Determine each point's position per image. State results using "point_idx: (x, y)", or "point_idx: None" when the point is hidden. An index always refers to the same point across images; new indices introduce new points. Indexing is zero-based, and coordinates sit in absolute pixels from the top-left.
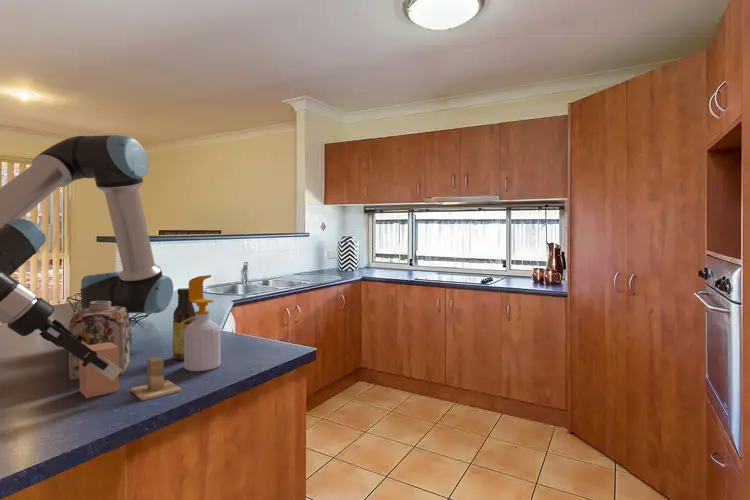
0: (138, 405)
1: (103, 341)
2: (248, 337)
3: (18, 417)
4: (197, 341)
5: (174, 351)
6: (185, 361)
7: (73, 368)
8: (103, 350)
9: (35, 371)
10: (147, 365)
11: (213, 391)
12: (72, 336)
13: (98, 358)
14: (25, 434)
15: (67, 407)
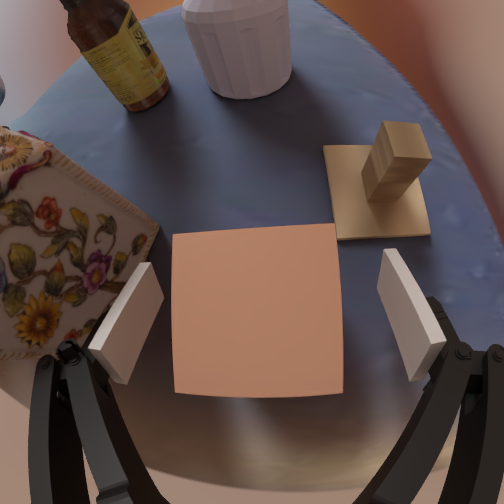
0: (448, 250)
1: (69, 248)
2: None
3: (337, 476)
4: (277, 24)
5: (137, 98)
6: (246, 84)
7: None
8: (339, 301)
9: (31, 372)
10: (388, 169)
11: (433, 114)
12: (385, 499)
13: (456, 337)
14: None
15: (354, 397)
